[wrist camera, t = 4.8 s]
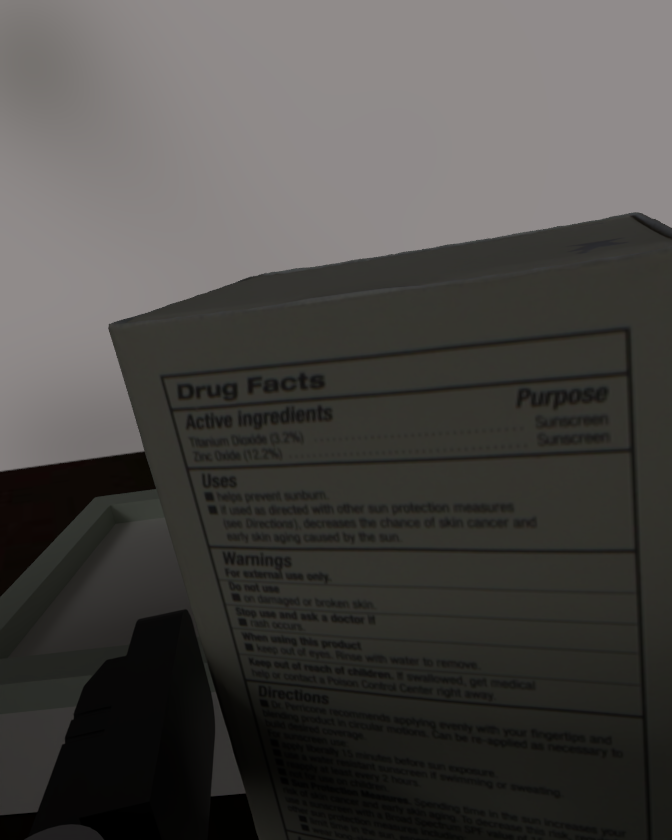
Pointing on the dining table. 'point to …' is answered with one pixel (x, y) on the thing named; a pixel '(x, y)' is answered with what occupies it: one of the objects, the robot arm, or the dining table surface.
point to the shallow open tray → (84, 635)
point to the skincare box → (430, 532)
